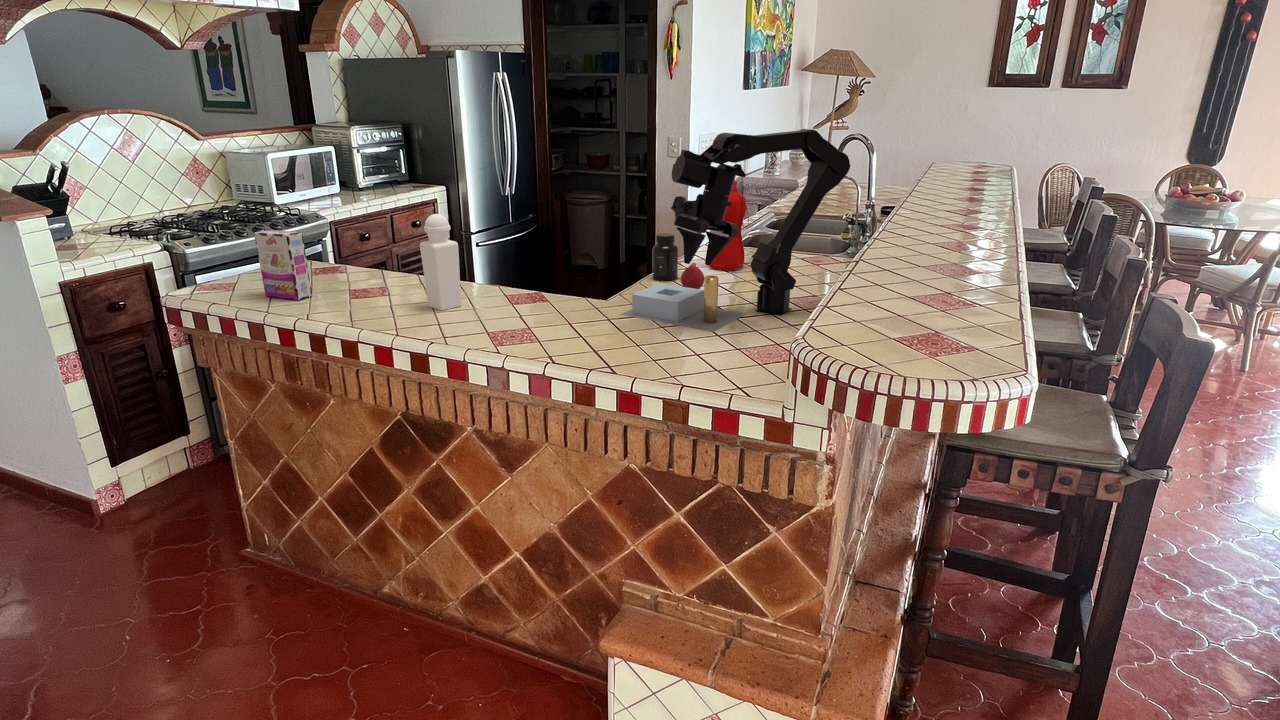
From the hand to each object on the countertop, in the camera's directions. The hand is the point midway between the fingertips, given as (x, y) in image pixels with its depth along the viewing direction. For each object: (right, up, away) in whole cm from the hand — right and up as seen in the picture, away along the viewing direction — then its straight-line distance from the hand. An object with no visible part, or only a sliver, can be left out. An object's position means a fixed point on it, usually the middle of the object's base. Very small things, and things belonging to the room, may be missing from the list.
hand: (697, 264), depth 161 cm
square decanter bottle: (-59, -8, +16) cm, 62 cm away
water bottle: (+13, +5, +52) cm, 54 cm away
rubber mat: (-3, -11, +8) cm, 14 cm away
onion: (+1, -4, +26) cm, 26 cm away
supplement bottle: (-6, +1, +41) cm, 41 cm away
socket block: (-6, -10, +10) cm, 15 cm away
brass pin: (+3, -12, +2) cm, 13 cm away
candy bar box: (-101, -5, +25) cm, 104 cm away
